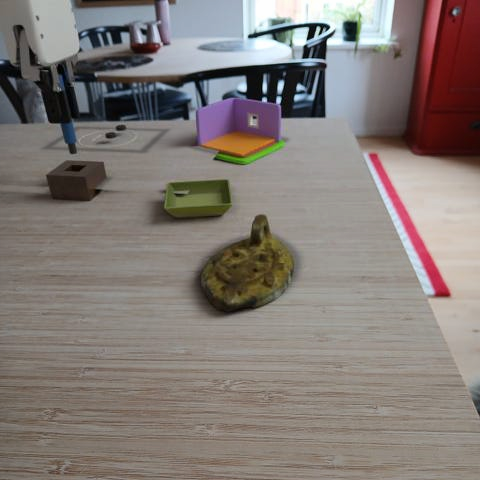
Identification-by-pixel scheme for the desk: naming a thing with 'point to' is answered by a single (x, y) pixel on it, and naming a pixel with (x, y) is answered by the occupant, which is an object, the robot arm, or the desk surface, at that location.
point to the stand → (76, 180)
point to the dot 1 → (110, 135)
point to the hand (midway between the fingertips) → (64, 119)
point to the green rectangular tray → (198, 198)
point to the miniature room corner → (240, 129)
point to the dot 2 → (120, 127)
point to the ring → (100, 135)
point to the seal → (248, 270)
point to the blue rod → (68, 128)
